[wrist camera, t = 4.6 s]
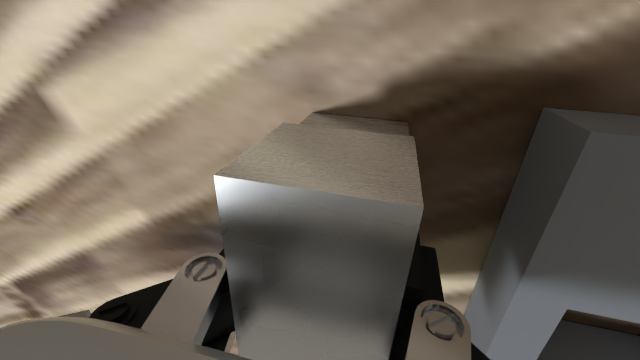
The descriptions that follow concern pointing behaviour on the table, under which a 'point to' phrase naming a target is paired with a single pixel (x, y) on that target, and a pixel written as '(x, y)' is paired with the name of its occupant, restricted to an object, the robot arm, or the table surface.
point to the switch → (565, 244)
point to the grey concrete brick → (320, 237)
